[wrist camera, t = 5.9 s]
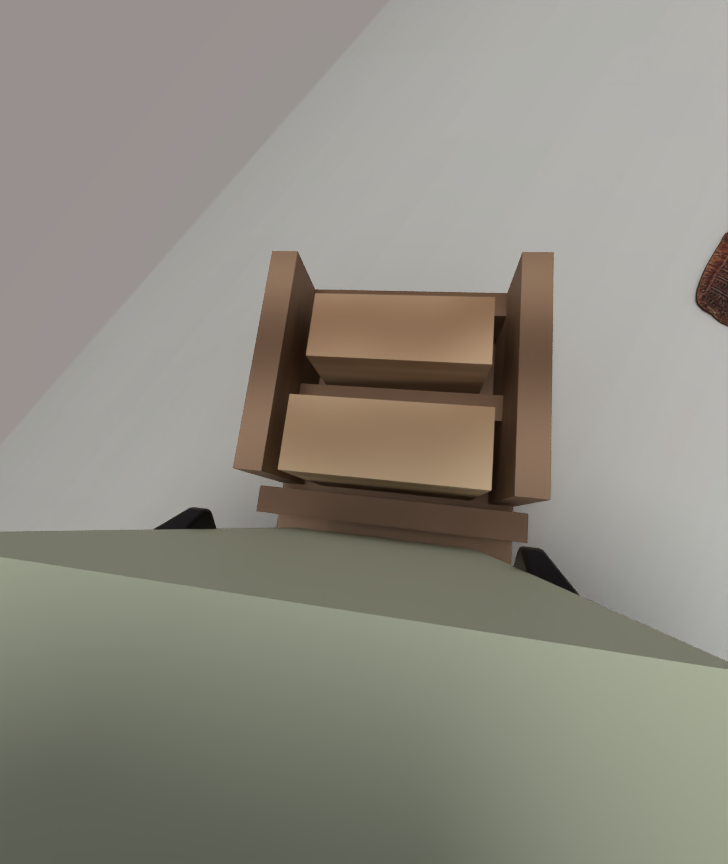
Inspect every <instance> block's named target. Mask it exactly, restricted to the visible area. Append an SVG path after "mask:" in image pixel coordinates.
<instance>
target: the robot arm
mask: <svg viewBox="0 0 728 864" xmlns="http://www.w3.org/2000/svg"><path fill="white" fill-rule="evenodd" d="M162 529H216V526H215V522H214V519H213V516H212V513H211V511H210V510H209V509H205V508H197V507H192V508H189V509H187V510H185V511H184V512H182V513H180V514H179V515H177V516H175V517H174V518H172V519H170V520H168V521H167V522H165V523H163V524H162V525H160V526H158V527H157V528H155V529H153V530H162ZM514 567H515V568H517V569H520V570H522V571H524V572H526V573H529V574H532V575H534V576H536V577H538V578H541V579H543V580H545V581H547V582H550V583H552V584H554V585H556V586H559V587H561V588H563V589H565V590H568V591H570V592H572V593H574V594H577V595H579V594H578V593H577V591H576V590H575V589H574V588H573V587H572V585H571V584H570V583H569V582H568V580H567V579H566V578H565V577H564V575H563V574H562V573H561V572H560V570H559V569H558V568H557V567H556V565H555V564H554V563H553V562H552V560H551V559H550V558H549V557H548V555H547V554H546V553H545V552H544V551H543V550H542V549H539V548H532V547H524V546H523V547H520V548H519V550H518V552H517V556H516V559H515V563H514ZM579 596H580V595H579Z"/></svg>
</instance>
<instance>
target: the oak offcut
mask: <svg viewBox="0 0 728 864" xmlns="http://www.w3.org/2000/svg"><path fill="white" fill-rule="evenodd" d="M494 422H495V407H484V406H468V405H453V404H438V403H422V402H407V401H392V400H376V399H361V398H346V397H330V396H315V395H300V394H289V401H288V407H287V413H286V420H285V426H284V432H283V439H282V445H281V451H280V458H279V464H278V470H281V471H283V472H286V473H289V474H291V475H294V476H297V477H299V478H302V479H305V480H307V481H310V482H313V483H316V484H318V485H321V486H331V487H341V488H350V489H360V490H370V491H380V492H389V493H399V494H409V495H418V496H428V497H438V498H447V499H457V500H467V501H470V500H472V499H474V498H477V497H479V496H481V495H483V494H485V493H487V492H489V491H491V489H492V467H493V444H494Z"/></svg>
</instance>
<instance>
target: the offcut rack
mask: <svg viewBox="0 0 728 864" xmlns="http://www.w3.org/2000/svg"><path fill="white" fill-rule="evenodd" d="M553 269H554V252H522V255H521V258H520V260H519V263H518V266H517V269H516V271H515V274H514V277H513V279H512V282H511V285H510V288H509V290H508V293H464V292H414V291H364V290H315V288H314V286H313V284H312V282H311V280H310V277H309V275H308V273H307V271H306V269H305V266H304V264H303V262H302V260H301V258H300V256H299V253H298V251H272V255H271V261H270V266H269V272H268V277H267V283H266V288H265V294H264V300H263V305H262V311H261V316H260V322H259V327H258V333H257V338H256V344H255V349H254V355H253V360H252V366H251V371H250V377H249V382H248V388H247V393H246V399H245V404H244V410H243V415H242V421H241V426H240V432H239V437H238V443H237V449H236V454H235V460H234V465H233V468H234V469H238V470H241V471H245V472H248V473H252V474H255V475H258V476H262V477H265V478H269V479H272V480H276V481H279V482H283V488H280V487H271V486H261V487H260V493H259V499H258V505H257V511H259V512H267V513H276V514H279V516H278V522H277V528H304V529H312V530H321V531H329V532H337V533H345V534H353V535H361V536H370V537H378V538H386V539H394V540H402V541H410V542H419V543H427V544H435V545H443V546H451V547H459V548H467V549H476V550H478V551H480V552H482V553H485V554H487V555H489V556H491V557H494V558H496V559H498V560H500V561H502V562H505V563H507V564H509V565H511V546H512V541H514V542H523V543H527V537H528V514H526V513H516V512H513V506H519V505H524V504H530V503H535V502H541V501H546V500H550V488H551V415H552V342H553ZM315 293H328V294H374V295H420V296H466V297H495V312H494V333H493V355H492V366H491V368H490V370H489V372H488V375H487V377H486V379H485V382H484V384H483V386H482V388H481V391H480V393H479V394H469V393H453V392H436V391H419V390H403V389H386V388H370V387H353V386H337V385H326V384H325V382H324V381H323V379H322V378H321V377H320V375H319V374H318V372H317V371H316V369H315V368H314V366H313V365H312V364H311V362H310V361H309V359H308V358H307V356H306V351H307V344H308V338H309V331H310V325H311V318H312V311H313V305H314V298H315ZM289 394H300V395H315V396H330V397H346V398H361V399H376V400H392V401H407V402H422V403H438V404H453V405H468V406H484V407H495V422H494V444H493V467H492V489H491V491H489V492H487V493H485V494H483V495H481V496H479V497H477V498H474V499H472V500H470V501H467V500H457V499H447V498H438V497H428V496H418V495H409V494H399V493H389V492H380V491H370V490H360V489H350V488H341V487H331V486H321V485H318V484H316V483H313V482H310V481H307V480H305V479H302V478H299V477H297V476H294V475H291V474H289V473H286V472H283V471H281V470H278V464H279V458H280V451H281V445H282V439H283V432H284V426H285V420H286V413H287V407H288V401H289Z"/></svg>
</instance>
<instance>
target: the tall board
mask: <svg viewBox="0 0 728 864" xmlns="http://www.w3.org/2000/svg"><path fill="white" fill-rule="evenodd" d="M0 864H728V662H727V661H725V660H723V659H720V658H718V657H716V656H714V655H711V654H709V653H707V652H705V651H702V650H700V649H698V648H696V647H693V646H691V645H689V644H687V643H685V642H682V641H680V640H678V639H676V638H673V637H671V636H669V635H667V634H664V633H662V632H660V631H658V630H655V629H653V628H651V627H649V626H646V625H644V624H642V623H640V622H637V621H635V620H633V619H631V618H628V617H626V616H624V615H622V614H619V613H617V612H615V611H613V610H610V609H608V608H606V607H604V606H601V605H599V604H597V603H595V602H592V601H590V600H588V599H586V598H583V597H581V596H579V595H577V594H574V593H572V592H570V591H568V590H565V589H563V588H561V587H559V586H556V585H554V584H552V583H550V582H547V581H545V580H543V579H541V578H538V577H536V576H534V575H532V574H529V573H526V572H524V571H522V570H520V569H517V568H515V567H514V566H511V565H509V564H507V563H505V562H502V561H500V560H498V559H496V558H494V557H491V556H489V555H487V554H485V553H482V552H480V551H478V550H476V549H467V548H459V547H451V546H443V545H435V544H427V543H419V542H410V541H402V540H394V539H386V538H378V537H370V536H361V535H353V534H345V533H337V532H329V531H321V530H312V529H304V528H231V529H162V530H92V531H22V532H0Z"/></svg>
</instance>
